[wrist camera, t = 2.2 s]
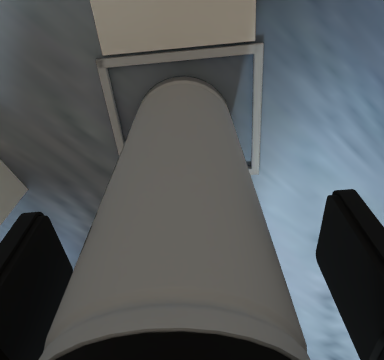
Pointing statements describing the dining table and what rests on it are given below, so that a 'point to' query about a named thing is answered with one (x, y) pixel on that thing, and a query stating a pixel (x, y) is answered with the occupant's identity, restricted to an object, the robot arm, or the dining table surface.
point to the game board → (176, 43)
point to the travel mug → (178, 248)
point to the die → (9, 191)
